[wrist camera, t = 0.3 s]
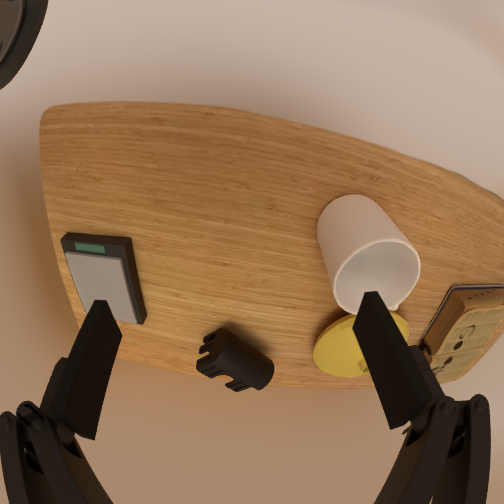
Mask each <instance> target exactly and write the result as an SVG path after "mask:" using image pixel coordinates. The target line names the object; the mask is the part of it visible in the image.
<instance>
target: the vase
mask: <svg viewBox="0 0 504 504" xmlns="http://www.w3.org/2000/svg"><path fill="white" fill-rule="evenodd" d="M389 312H390V314H391V315H392V317H393V319H394V321H395V322H396V324H397V326H398V328H399V330H400V331H401V333H402V335H403V337H404V339H405V341H407V339H408V335H409V328H408V325H407V322H406V321H405V320H404V319H403V318H402V317H401V316H400V315H399V314H397V313H396V312H393V311H391V310H389ZM356 316H357V315H355V314H352V313H351V314H349V315H347V316H345V317H343V318H341V319H338V320H337V321H335V322H334V323H333V324H331V325H330V326H328V327H327V328H326V329H325V330H324V331H323V332H322V333H321V334H320V335H319V337H318V339H317V341H316V343H315V346H314V350H313V360H314V363H315V365H316V366H317V367H318V368H319V369H320V370H322V371H323V372H325V373H328V374H330V375H333V376H338V377H354V376H360V375H364V374H367V373H370V372H369V369H368V367H367V364H366V361H365V359H364V356H363V354H362V351H361V349H360V346H359V344H358V342H357V339H356V337H355V334H354V332H353V330H352V326H353V324H354V321H355V318H356Z"/></svg>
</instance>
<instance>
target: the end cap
mask: <svg viewBox="0 0 504 504" xmlns="http://www.w3.org/2000/svg"><path fill="white" fill-rule="evenodd" d="M203 342H204V343H205V344H204V345H202V346H201V347H200V349H199V354H203V353H205V352H207V351H208V352H209V354H208V355H206V356H204V357H202V358H200V359H198V360H197V364H196V369H197V370H198V371H199V372H201V373H202V374H204V375H206V376H208V377H209V378H214V377H216V376H219V375H227V376H230V377H232V378H233V379H234V380H233V381H231V382H229V383H226V384H225V386H226V387H228V388H230V389H232V390H233V391H235V392H239V391H242V390H245V389H248V388H250V387H253V388H255V389H257V390H261V389H263V388H264V387H265V386H266V385H267V384H268V383H269V382H270V380H271V379H272V377H273V374H274V364H273V362H272V360H270V359H269V358H268V357H266V356H265V355H263V354H262V353H260V352H259V351H257V350H256V349H254V348H253V347H251V346H250V345H248V344H247V343H245V342H244V341H242V340H241V339H240V338H238V337H237V336H235V335H234V334H233V333H231V332H230V331H228V330H227V329H224V328H221V329H218V330H216V331H215V332H213V333H211V334H209V335H208V336H206V337H204V339H203Z"/></svg>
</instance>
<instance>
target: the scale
mask: <svg viewBox="0 0 504 504" xmlns="http://www.w3.org/2000/svg"><path fill="white" fill-rule="evenodd" d="M60 241H61V244H62V248H63V251H64V254H65V257H66V261H67V264H68V267H69V270H70V273H71V276H72V278H73V281H74V284H75V287H76V289H77V292H78V295H79V297H80V300H81V302H82V305H83V307H84V309H85V312H86V313H88V312H89V310H90V308H91V306H92V304H93V302H94V300H107V302H108V304H109V307H110V309H111V311H112V314H113V316H114V318H115V320H119V321H124V322H129V323H134V324H142V325H143V324H144V321H145V319H146V317H147V314H146V310H145V306H144V302H143V297H142V293H141V289H140V284H139V279H138V275H137V270H136V265H135V259H134V254H133V248H132V242H131V238H126V237H114V236H103V235H92V234H80V233H69V232H67V233H66V234H65V235H64V236H63V237H62V238H61V239H60Z"/></svg>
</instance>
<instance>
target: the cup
mask: <svg viewBox="0 0 504 504" xmlns="http://www.w3.org/2000/svg"><path fill="white" fill-rule="evenodd" d="M317 239H318V243H319V246H320V249H321V253H322V256H323V259H324V263H325V266H326V269H327V273H328V276H329V280H330V283H331V287H332V291H333V294H334V297H335V300H336V302H337V303H338V305H339V306H340V307H341V308H343V309H344V310H345V311H347V312H349V313H352V314H355V315H357V313H358V310H359V307H360V304H361V301H362V298H363V295H364V292H370V291H378V293H379V295H380V296H381V298H382V300H383V301H384V303H385V305H386V307H387V308H388V310H392V311H395V310H397V309H398V307H399V304H400V303H401V302H402V301H403V300H404V299H405V298H406V297H407V296H408V295H409V294H410V293H411V292H412V290H413V289H414V287H415V285H416V283H417V281H418V278H419V275H420V267H421V265H420V258H419V255H418V253H417V251H416V250H415V249H414V247H413V246H412V245H411V243H410V242H409V241H408V240H407V238H406V237H405V236H404V235H403V233H402V232H401V231H400V230H399V228H398V227H397V226H396V225H395V223H394V222H393V221H392V220H391V219H390V218H389V216H388V215H387V214H386V213H385V212H384V211H383V209H382V208H381V207H380V206H379V205H378V204H377V203H376V202H375V201H373V200H372V199H370V198H368V197H366V196H363V195H358V194H350V195H345V196H342V197H339V198H337V199H335V200H334V201H332V202H331V203H330V204H328V205H327V206H326V208H325V209H324V210H323V212H322V213H321V215H320V217H319V220H318V223H317Z"/></svg>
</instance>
